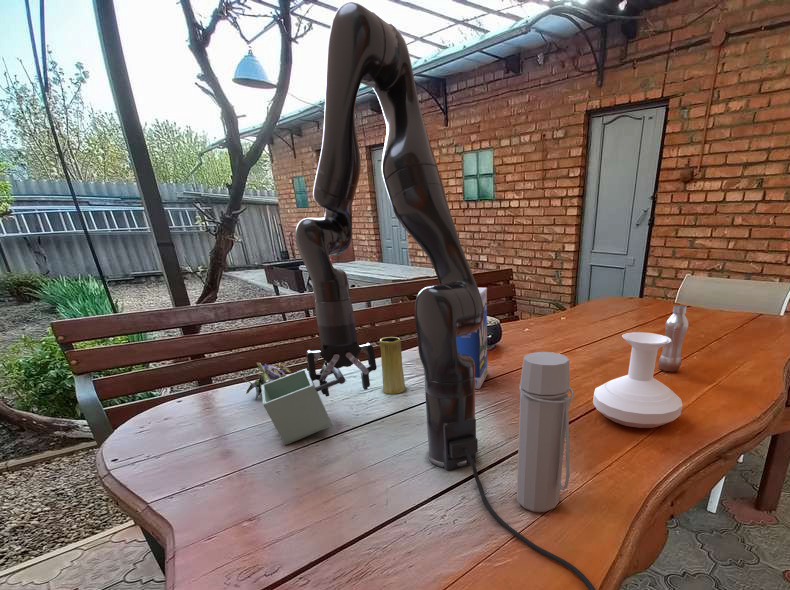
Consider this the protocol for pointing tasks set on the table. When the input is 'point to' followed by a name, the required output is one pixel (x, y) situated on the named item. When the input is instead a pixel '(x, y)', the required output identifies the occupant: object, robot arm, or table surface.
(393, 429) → the table surface
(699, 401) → the table surface
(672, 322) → the plastic bottle
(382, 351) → the vase
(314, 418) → the pale green open box
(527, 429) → the water bottle
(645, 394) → the white flared vase
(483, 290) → the string lights box
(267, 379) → the passion flower
